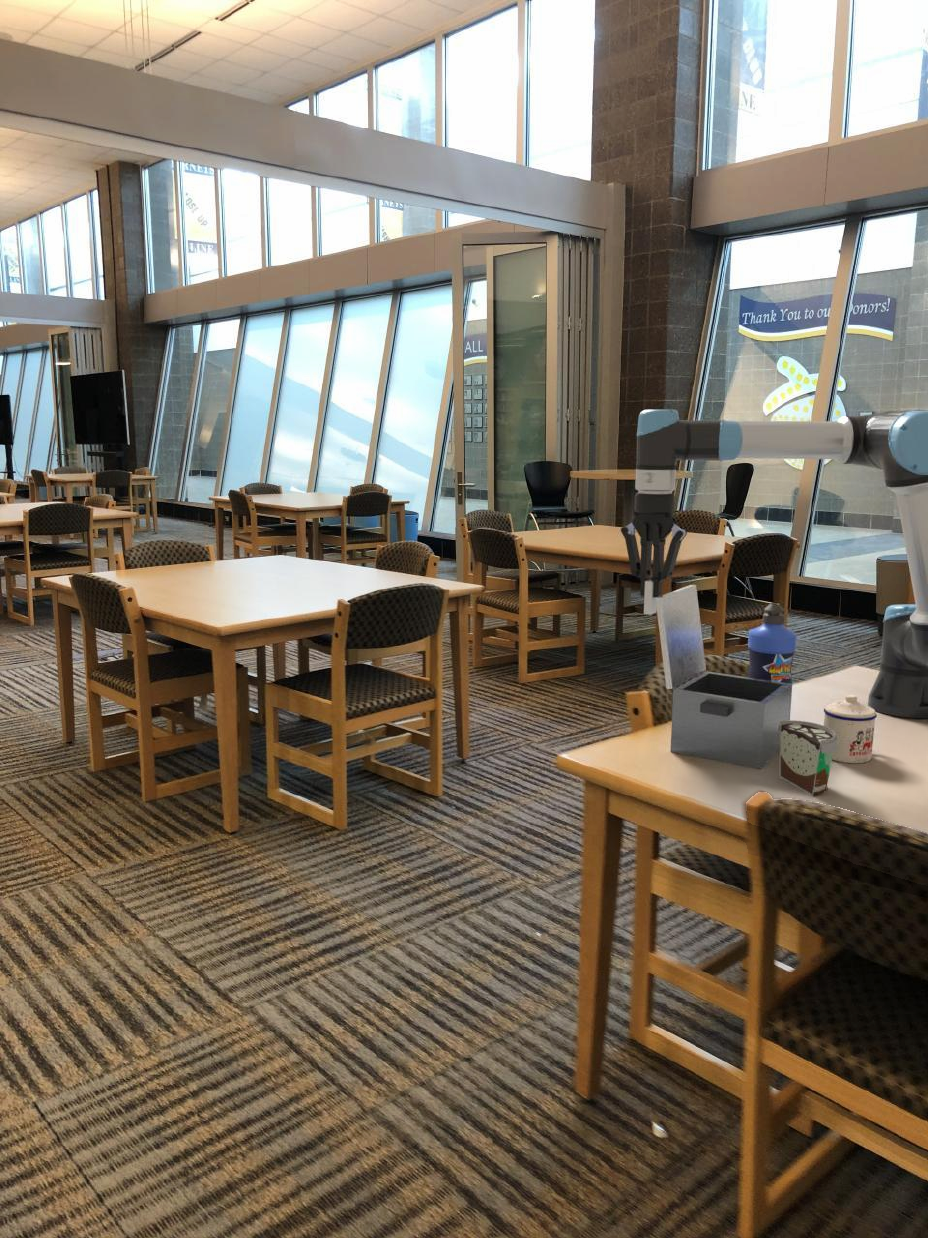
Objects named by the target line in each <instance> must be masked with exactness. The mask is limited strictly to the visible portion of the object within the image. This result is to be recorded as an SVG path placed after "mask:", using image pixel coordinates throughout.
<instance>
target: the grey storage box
mask: <svg viewBox="0 0 928 1238" xmlns="http://www.w3.org/2000/svg"><path fill="white" fill-rule="evenodd" d="M791 688H792V689H793V683H792V684H789V683H782V682H776V681H769V680H762V679H755V678H748V676H740V675H733V674H726V673H721V672H713V671H706V670H704V671H703V672H701V674H700V673H699V674H697V675H696V676H694V677H692V678H690V679H689V680H687V681H685V682H684V683H682V684H680V685H678V686H677V687H675V688H673V689H672V690H673V691H672V708H671V709H672V712H671V731H670V733H671V735H670V752H671V751H673V752H672V753H676V752H677V754H682V755H687V756H691V757H697V758H701V759H707V760H711V761H716V762H722V763H726V764H730V765H731V764H732V765H736V766H737V765H738V766H741V767H742V766H743V767H746V768H747V767H748V768H752V769H757V770H762V768H764V767H765V766H766V765H767V764H768V763H769V762H770V761H771V760H772V759H773V758H775V756H776V755H778V754H779V753H780V731H778V727H779V724H780V721H783V720H789V716H790V717H791V711H790V702H791V703H792V698H791Z"/></svg>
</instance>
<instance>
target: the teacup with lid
mask: <svg viewBox="0 0 928 1238" xmlns="http://www.w3.org/2000/svg"><path fill="white" fill-rule="evenodd" d="M823 712H824V717H823V718H824V721H823V726H826V727H828V728H830V729H832V730H833V731H834V732H835V735H836V737H837V742H838V748H837V749H836V750H834V751H833V754H832V760H831V761H834V762H839V763H845V764H865V763H867V762H869V761H870V760H871V759H872V754H873V745H874V732H875V724H876V723H875V722H876V721H875V720H876V718H877V716H878V715H877V711H876V710H874V709H873V708H871V707H869V706H868V705H866V704H865V703H862V702H861V701H858V697H857V695H855V694H847V695H845V698H844V699H840V700H838V701H836V702H830V703H828V704H826V705H825V707H824V708H823Z"/></svg>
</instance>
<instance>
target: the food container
mask: <svg viewBox="0 0 928 1238" xmlns="http://www.w3.org/2000/svg"><path fill="white" fill-rule="evenodd" d="M778 731H780V751H779V778H781V779H782V780H783V781H786V782H788V783H789V784H791V785H793V786H794V787H796V788H798V789H799V790H801V791H803V792H805V793H806V794H808V795H810V796H812V797H817V796H822V795H823V794H825V793H826V791H827V787H828V782H829V777H830V770H831V764H832V761H833V760H832V754H833V751H834V750H836V749H837V748H838V742H837V737H836V735H835V732H834V731H833V730H832V729H830V728H828V727H826V726H824V724H819V723H815V722H812V721H811V722H810V721H806V720H805V721H804V720H793V719H792V720H791V719H790V720H783V721H780V724H779V727H778Z"/></svg>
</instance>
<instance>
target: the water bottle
mask: <svg viewBox="0 0 928 1238" xmlns="http://www.w3.org/2000/svg"><path fill="white" fill-rule="evenodd" d="M764 611H765V612H766V613H765V612H764V613H763V614H762V622H763V623H762V624H761V625H760V626H757V627H755V628H752V629H751V630H748V638H747V639H748V640H747V647H748V656H749V657H748V659H749V660H748V661H749V668H748V672H747V677H748V678H755V679H762V680H769V681H776V682H782V683H789V684H792V685H793V677H792V676H793V675H792V668H793V666H792V665H793V663H794V662H793V661H794V656H795V651H796V650H797V639H798V634H797V633H796V632H794V631H792V630H790V629H789V628H787V627H786V626H785V625H784V624H785V619H786V618H785V617H786V615H785V614H783V612H784V611H785V609H784V608H783V607H782V606H781V604H780V603H776V602H772V603H769V604H768V605H767V606H765V608H764ZM792 694H793V687H792V688H791V699H792ZM791 710H792V701H791V702H790V712H791ZM789 720H791V715H790V716H789Z"/></svg>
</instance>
